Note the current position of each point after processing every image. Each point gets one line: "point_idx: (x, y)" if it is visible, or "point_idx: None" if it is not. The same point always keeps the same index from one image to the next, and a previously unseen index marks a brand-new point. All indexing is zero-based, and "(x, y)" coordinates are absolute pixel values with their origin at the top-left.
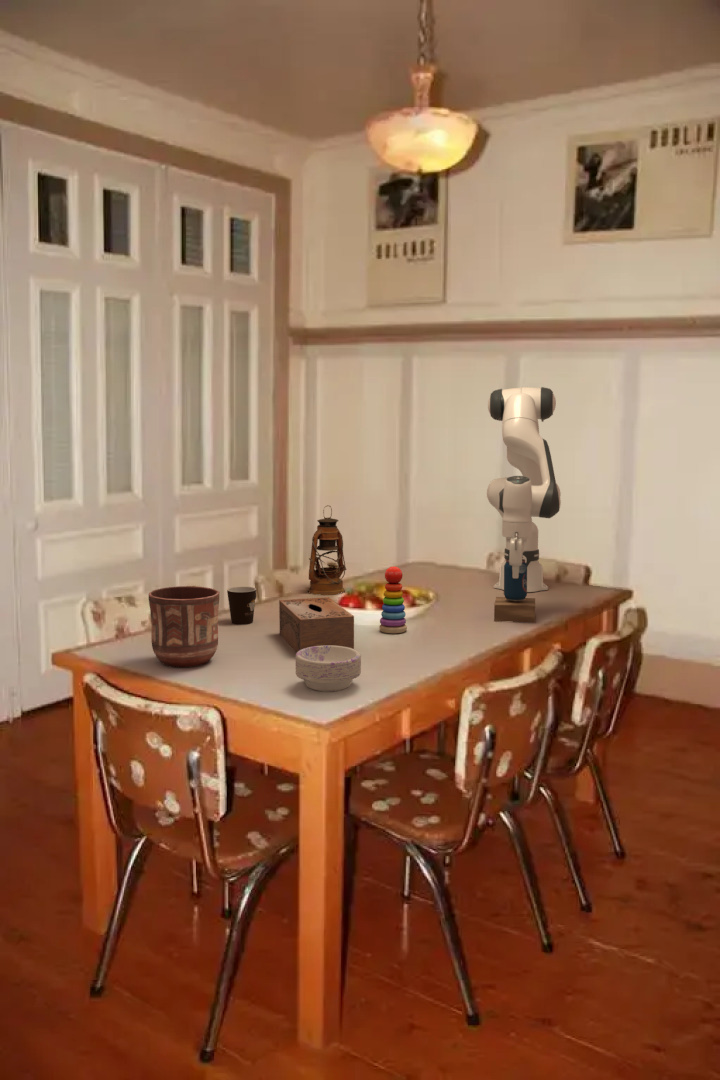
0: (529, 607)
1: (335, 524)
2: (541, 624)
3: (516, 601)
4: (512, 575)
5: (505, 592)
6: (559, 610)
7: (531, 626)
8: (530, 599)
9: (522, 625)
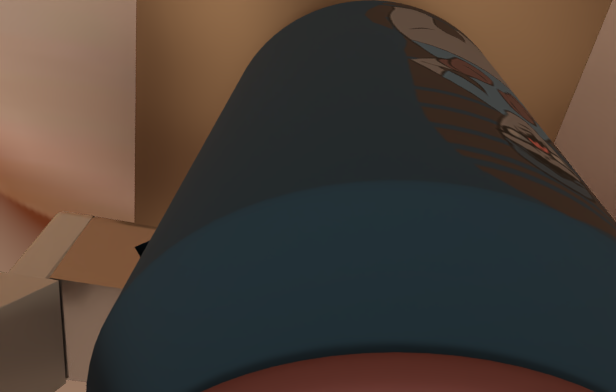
0: (137, 201)
1: None
2: (132, 213)
3: None
4: (43, 230)
5: (311, 21)
6: None
7: (53, 139)
8: None
9: (70, 79)
